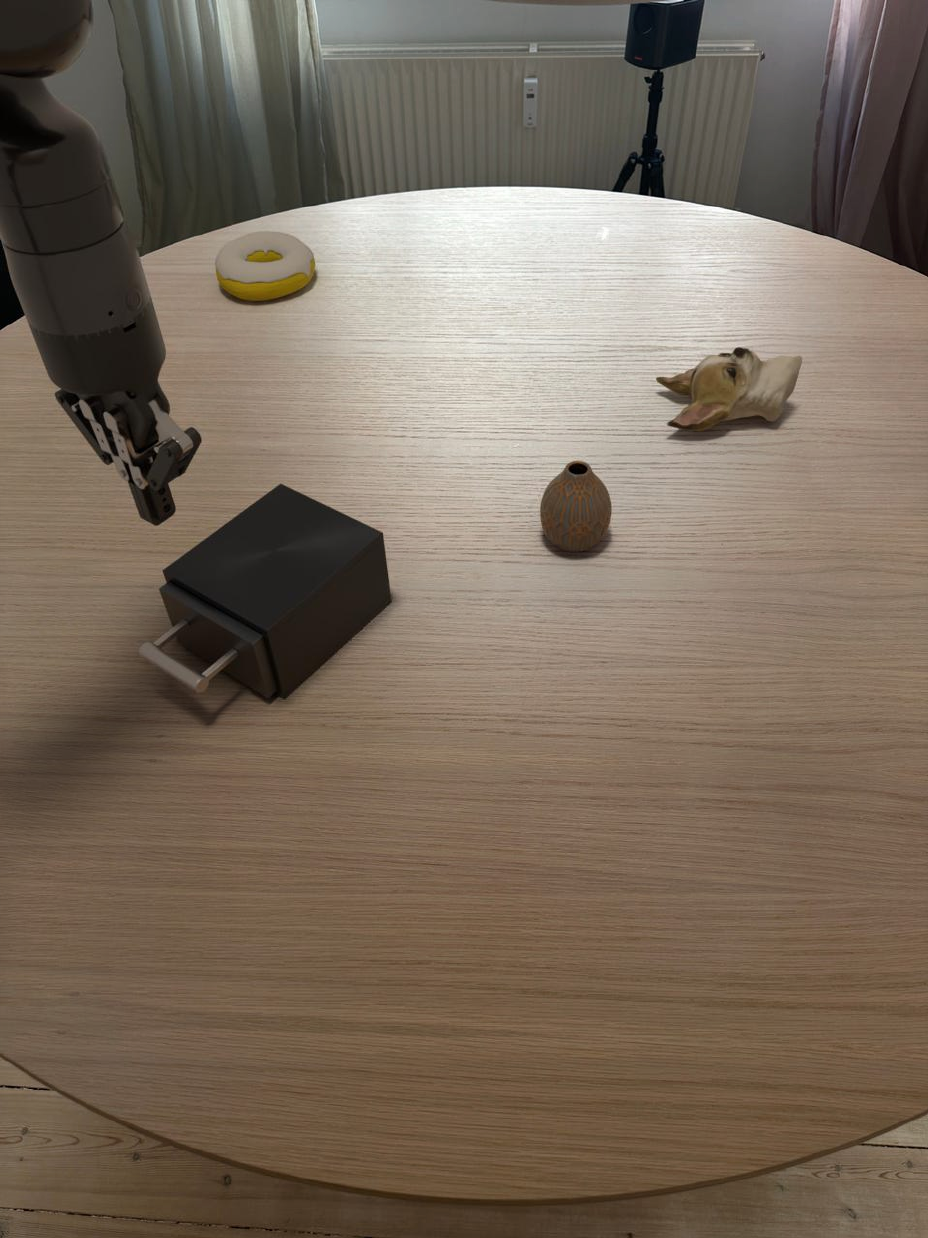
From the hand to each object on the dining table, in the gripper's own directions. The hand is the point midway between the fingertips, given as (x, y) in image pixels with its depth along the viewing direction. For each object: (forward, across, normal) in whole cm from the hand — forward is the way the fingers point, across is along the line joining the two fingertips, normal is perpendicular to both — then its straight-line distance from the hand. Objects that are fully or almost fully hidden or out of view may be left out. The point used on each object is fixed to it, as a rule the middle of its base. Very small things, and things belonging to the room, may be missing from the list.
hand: (159, 516), depth 73 cm
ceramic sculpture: (+19, +18, +62) cm, 67 cm away
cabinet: (+19, 0, +10) cm, 21 cm away
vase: (+19, +16, +34) cm, 42 cm away
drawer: (+18, 0, +5) cm, 19 cm away
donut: (+19, -49, +56) cm, 77 cm away
